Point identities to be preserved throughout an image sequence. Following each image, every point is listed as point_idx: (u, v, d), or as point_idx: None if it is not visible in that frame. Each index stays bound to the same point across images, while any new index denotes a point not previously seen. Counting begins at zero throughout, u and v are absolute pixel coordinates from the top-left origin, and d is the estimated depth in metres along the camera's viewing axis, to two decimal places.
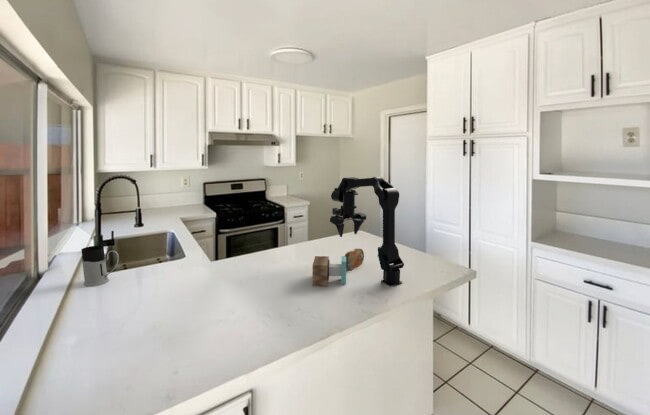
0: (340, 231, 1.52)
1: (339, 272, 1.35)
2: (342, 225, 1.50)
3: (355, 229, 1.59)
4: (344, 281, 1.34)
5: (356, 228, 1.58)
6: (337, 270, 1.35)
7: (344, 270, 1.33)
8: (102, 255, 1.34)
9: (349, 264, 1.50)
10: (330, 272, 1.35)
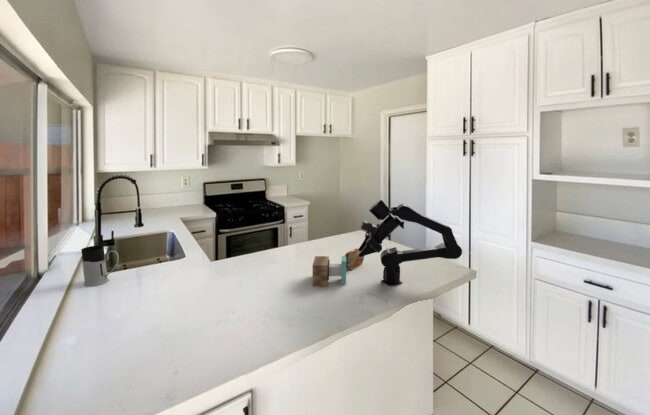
0: (366, 253, 1.30)
1: (339, 272, 1.35)
2: None
3: (363, 247, 1.39)
4: (344, 281, 1.34)
5: (365, 247, 1.39)
6: (337, 270, 1.35)
7: (344, 270, 1.33)
8: (102, 255, 1.34)
9: (349, 264, 1.50)
10: (330, 272, 1.35)
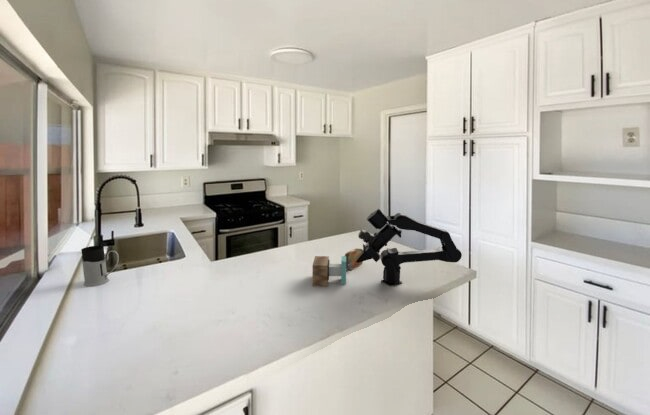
0: (363, 259, 1.34)
1: (339, 272, 1.35)
2: None
3: None
4: (344, 281, 1.34)
5: None
6: (337, 270, 1.35)
7: (344, 270, 1.33)
8: (102, 255, 1.34)
9: (349, 264, 1.50)
10: (330, 272, 1.35)
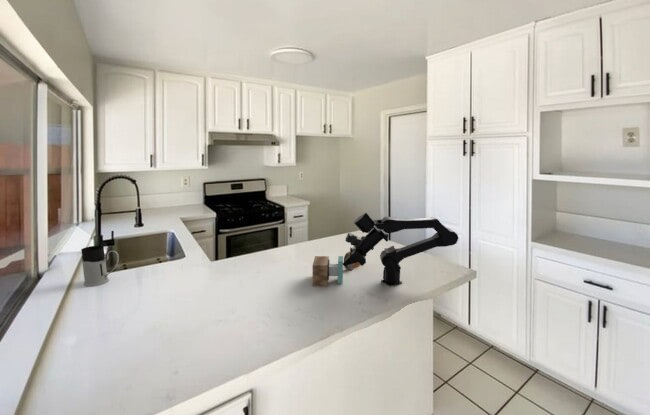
0: (350, 262, 1.35)
1: (335, 272, 1.35)
2: None
3: None
4: (341, 281, 1.34)
5: None
6: (334, 270, 1.35)
7: (341, 270, 1.33)
8: (102, 255, 1.34)
9: None
10: None
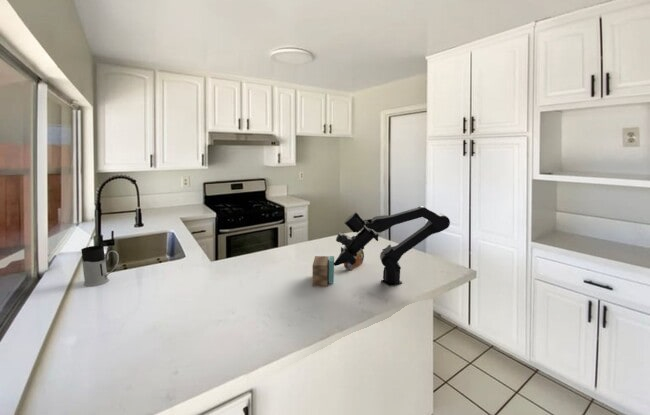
0: (340, 262, 1.35)
1: None
2: None
3: None
4: (332, 281, 1.34)
5: None
6: None
7: (332, 270, 1.33)
8: (102, 255, 1.34)
9: (349, 264, 1.50)
10: None
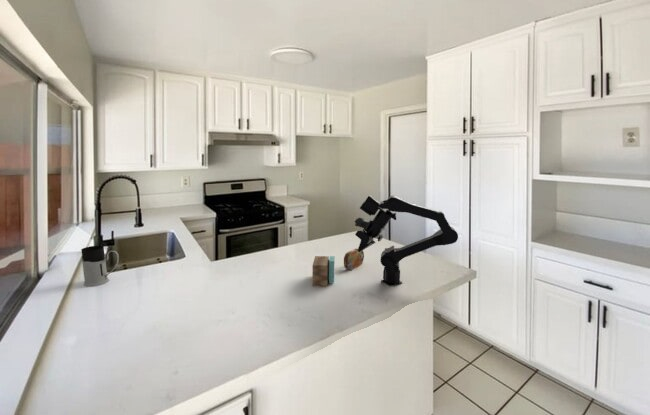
0: (363, 247, 1.35)
1: None
2: (370, 244, 1.33)
3: None
4: (332, 281, 1.34)
5: None
6: None
7: (332, 270, 1.33)
8: (102, 255, 1.34)
9: (349, 264, 1.50)
10: None
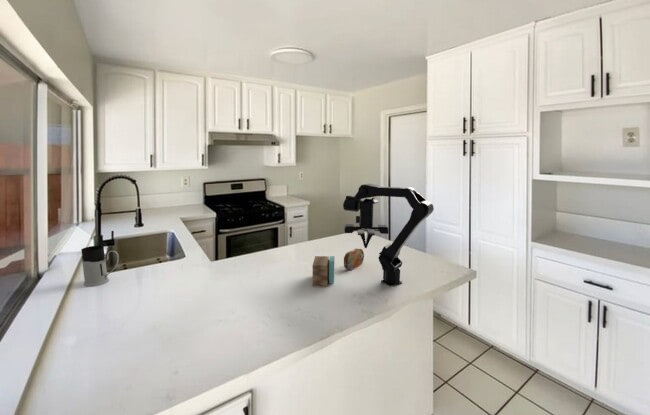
0: (363, 241, 1.40)
1: None
2: (362, 235, 1.38)
3: None
4: (332, 281, 1.34)
5: (366, 241, 1.40)
6: None
7: (332, 270, 1.33)
8: (102, 255, 1.34)
9: (349, 264, 1.50)
10: None
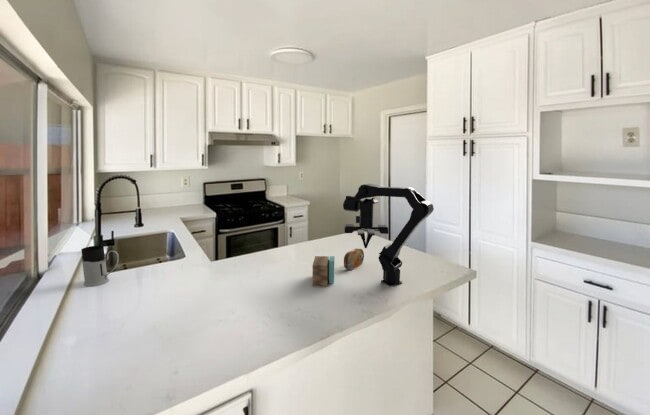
0: (363, 241, 1.40)
1: None
2: (362, 235, 1.38)
3: None
4: (332, 281, 1.34)
5: (366, 241, 1.40)
6: None
7: (332, 270, 1.33)
8: (102, 255, 1.34)
9: (349, 264, 1.50)
10: None
